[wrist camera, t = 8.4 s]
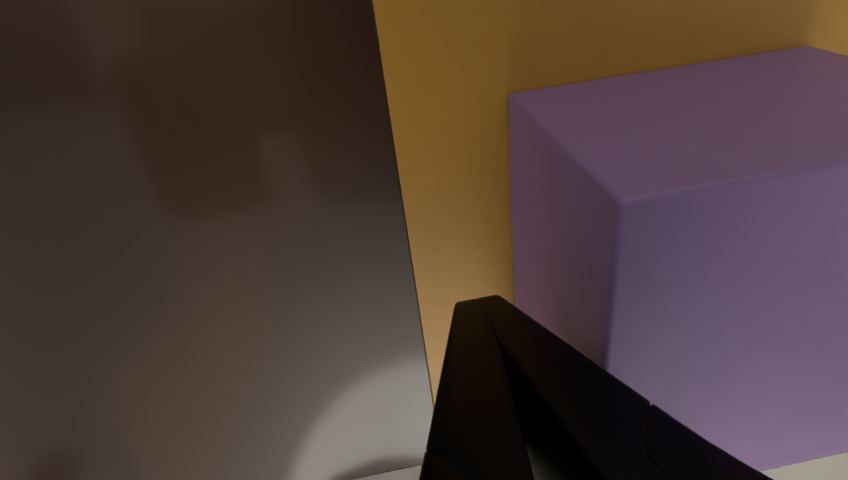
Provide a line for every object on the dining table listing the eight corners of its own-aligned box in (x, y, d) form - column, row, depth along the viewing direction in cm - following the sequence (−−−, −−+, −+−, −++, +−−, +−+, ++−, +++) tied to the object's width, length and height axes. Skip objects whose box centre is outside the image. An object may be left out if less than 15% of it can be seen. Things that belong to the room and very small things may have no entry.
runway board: (-123, 573, 14) (-129, 581, 14) (-846, -12, 7) (-876, -10, 7) (440, 455, 15) (441, 460, 15) (346, -159, 8) (347, -161, 8)
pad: (440, 455, 15) (441, 460, 15) (346, -159, 8) (347, -161, 8) (773, 384, 16) (777, 389, 16) (971, -236, 9) (984, -239, 8)
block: (513, 337, 13) (592, 510, 9) (505, 92, 10) (619, 200, 6) (745, 292, 13) (913, 439, 10) (808, 44, 10) (1092, 116, 7)
